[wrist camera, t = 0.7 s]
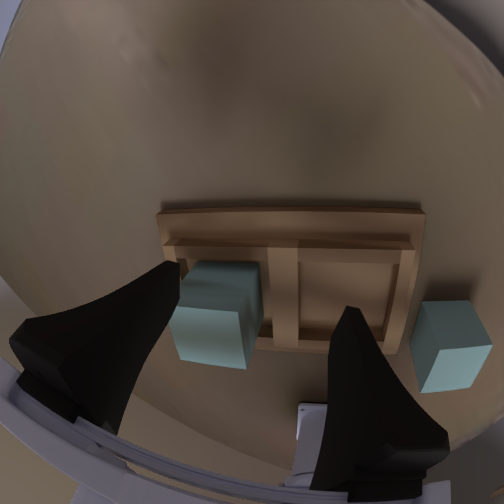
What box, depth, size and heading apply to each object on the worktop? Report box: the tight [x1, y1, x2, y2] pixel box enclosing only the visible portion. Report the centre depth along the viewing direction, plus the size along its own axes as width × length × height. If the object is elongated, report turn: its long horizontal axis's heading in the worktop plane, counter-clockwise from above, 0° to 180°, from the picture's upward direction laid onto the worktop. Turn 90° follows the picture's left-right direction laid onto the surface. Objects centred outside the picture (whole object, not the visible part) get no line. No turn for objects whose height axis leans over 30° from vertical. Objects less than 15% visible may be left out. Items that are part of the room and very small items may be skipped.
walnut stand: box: [156, 206, 426, 369], centre depth 20 cm, size 13×20×7 cm, turn 95°
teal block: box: [409, 300, 493, 393], centre depth 19 cm, size 5×5×6 cm
